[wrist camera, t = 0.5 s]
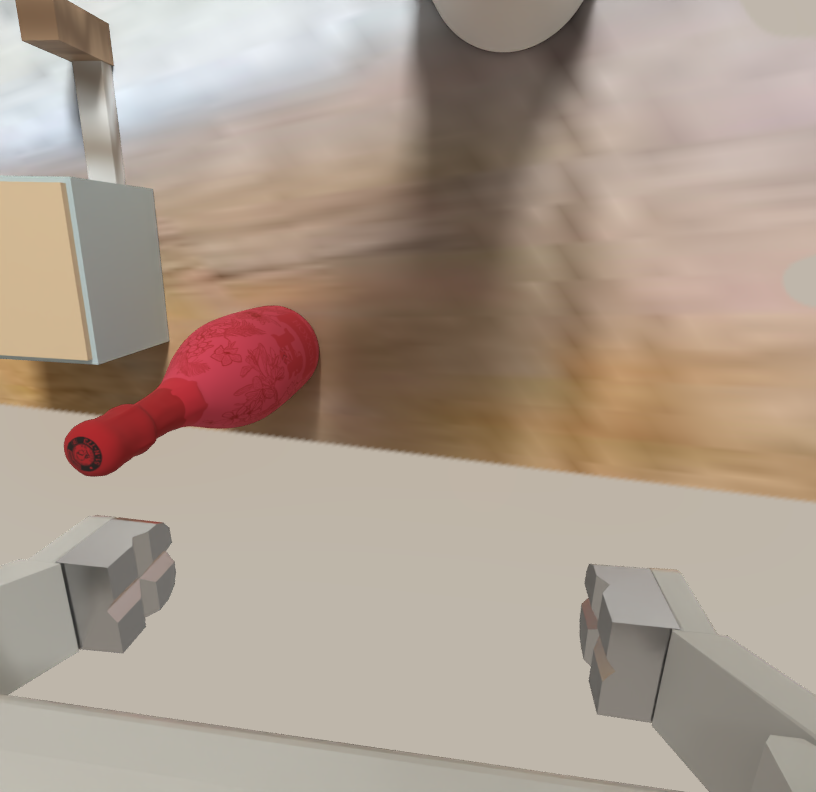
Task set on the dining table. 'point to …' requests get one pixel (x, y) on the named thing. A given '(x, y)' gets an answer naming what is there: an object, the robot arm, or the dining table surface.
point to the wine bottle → (206, 386)
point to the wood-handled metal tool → (82, 75)
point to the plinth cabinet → (78, 270)
